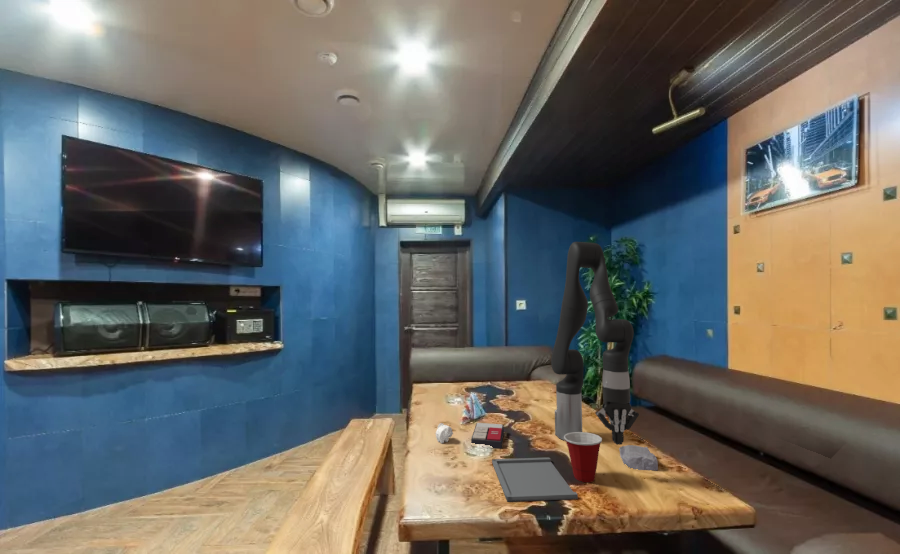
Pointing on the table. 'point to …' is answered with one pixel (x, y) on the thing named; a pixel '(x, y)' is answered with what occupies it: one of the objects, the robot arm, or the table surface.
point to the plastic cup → (583, 454)
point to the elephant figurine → (443, 433)
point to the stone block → (638, 457)
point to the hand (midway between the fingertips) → (617, 443)
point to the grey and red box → (488, 434)
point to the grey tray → (531, 480)
